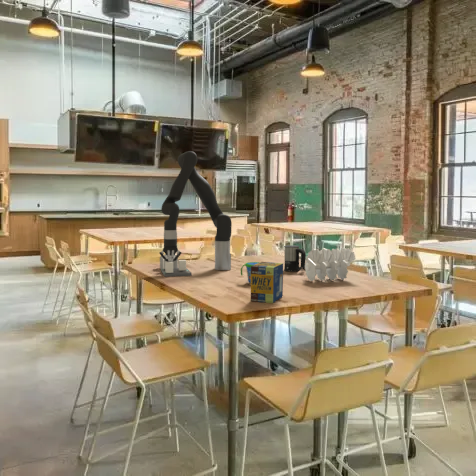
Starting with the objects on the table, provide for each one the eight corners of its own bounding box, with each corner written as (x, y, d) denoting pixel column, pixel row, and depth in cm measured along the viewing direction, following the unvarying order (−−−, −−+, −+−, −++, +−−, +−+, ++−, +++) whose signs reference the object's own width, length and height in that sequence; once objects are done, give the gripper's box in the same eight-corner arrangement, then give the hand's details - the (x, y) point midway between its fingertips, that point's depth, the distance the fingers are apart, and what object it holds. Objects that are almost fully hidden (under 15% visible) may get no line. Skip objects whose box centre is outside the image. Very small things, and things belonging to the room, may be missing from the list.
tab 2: (172, 271, 297) (172, 261, 296) (173, 272, 293) (173, 262, 292) (165, 271, 296) (165, 262, 295) (166, 272, 292) (166, 263, 291)
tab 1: (169, 268, 309) (169, 258, 309) (170, 269, 305) (170, 259, 305) (163, 268, 308) (162, 259, 308) (163, 269, 304) (163, 259, 304)
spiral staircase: (303, 287, 281) (344, 282, 289) (317, 278, 265) (360, 273, 274) (295, 255, 287) (336, 251, 295) (308, 244, 271) (351, 240, 279)
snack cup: (272, 281, 276) (272, 262, 275) (267, 285, 266) (267, 265, 265) (244, 280, 281) (244, 261, 280) (238, 283, 271) (238, 264, 270)
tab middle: (185, 269, 305) (185, 259, 304) (186, 270, 301) (186, 260, 301) (178, 269, 304) (178, 260, 303) (179, 270, 300) (179, 261, 300)
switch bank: (186, 270, 313) (186, 267, 313) (191, 275, 294) (191, 272, 294) (161, 271, 309) (161, 268, 309) (164, 276, 291) (164, 273, 291)
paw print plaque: (162, 270, 313) (161, 256, 312) (158, 267, 325) (157, 253, 325) (179, 269, 317) (179, 255, 316) (174, 266, 329) (174, 253, 328)
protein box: (250, 301, 228) (250, 266, 227) (261, 294, 242) (261, 261, 241) (273, 303, 224) (273, 267, 223) (283, 296, 239) (283, 262, 237)
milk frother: (281, 271, 312) (281, 246, 311) (289, 267, 327) (289, 243, 325) (305, 272, 307) (305, 247, 305) (311, 268, 321) (312, 244, 320)
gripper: (181, 237, 304) (181, 267, 306) (158, 237, 301) (158, 267, 303) (182, 238, 297) (182, 268, 299) (159, 238, 294) (159, 269, 295)
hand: (170, 268), depth 301 cm, fingers closed
